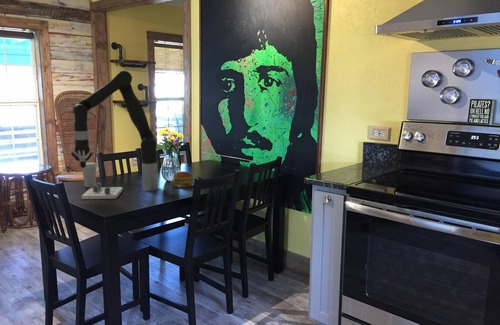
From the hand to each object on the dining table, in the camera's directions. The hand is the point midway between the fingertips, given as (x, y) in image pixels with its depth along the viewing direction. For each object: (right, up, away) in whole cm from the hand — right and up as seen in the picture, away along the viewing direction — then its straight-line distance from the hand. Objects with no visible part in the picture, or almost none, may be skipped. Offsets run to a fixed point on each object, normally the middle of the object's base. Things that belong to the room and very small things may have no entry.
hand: (83, 167), depth 245 cm
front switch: (+15, -15, -2) cm, 21 cm away
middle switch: (+6, -14, +3) cm, 16 cm away
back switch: (+6, -13, +9) cm, 17 cm away
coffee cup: (-6, -12, +25) cm, 29 cm away
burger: (+55, -13, +26) cm, 62 cm away
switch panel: (+10, -16, +4) cm, 20 cm away
